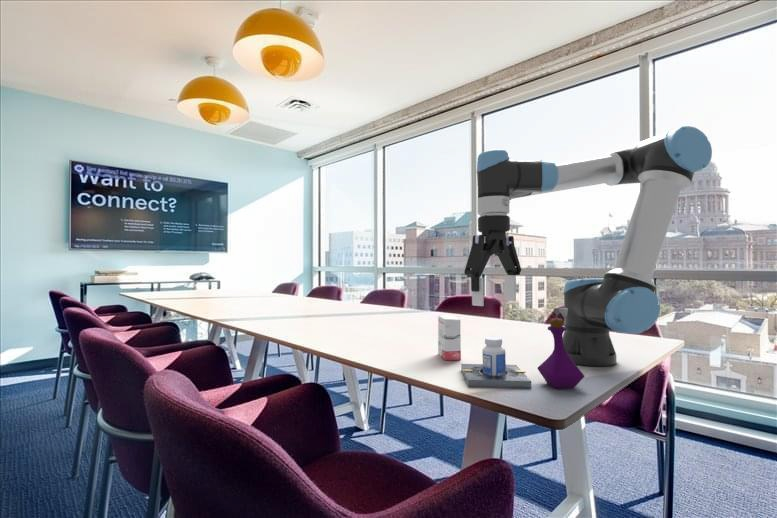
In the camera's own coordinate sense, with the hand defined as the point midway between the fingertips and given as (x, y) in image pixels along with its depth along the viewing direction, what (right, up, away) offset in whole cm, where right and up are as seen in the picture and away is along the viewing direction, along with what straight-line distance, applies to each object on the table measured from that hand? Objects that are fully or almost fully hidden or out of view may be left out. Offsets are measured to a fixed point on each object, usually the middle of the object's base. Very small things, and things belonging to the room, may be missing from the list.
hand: (494, 303), depth 99 cm
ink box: (-8, -18, +21) cm, 29 cm away
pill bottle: (0, -18, 0) cm, 18 cm away
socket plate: (0, -18, 0) cm, 18 cm away
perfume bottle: (+13, -18, -6) cm, 24 cm away
